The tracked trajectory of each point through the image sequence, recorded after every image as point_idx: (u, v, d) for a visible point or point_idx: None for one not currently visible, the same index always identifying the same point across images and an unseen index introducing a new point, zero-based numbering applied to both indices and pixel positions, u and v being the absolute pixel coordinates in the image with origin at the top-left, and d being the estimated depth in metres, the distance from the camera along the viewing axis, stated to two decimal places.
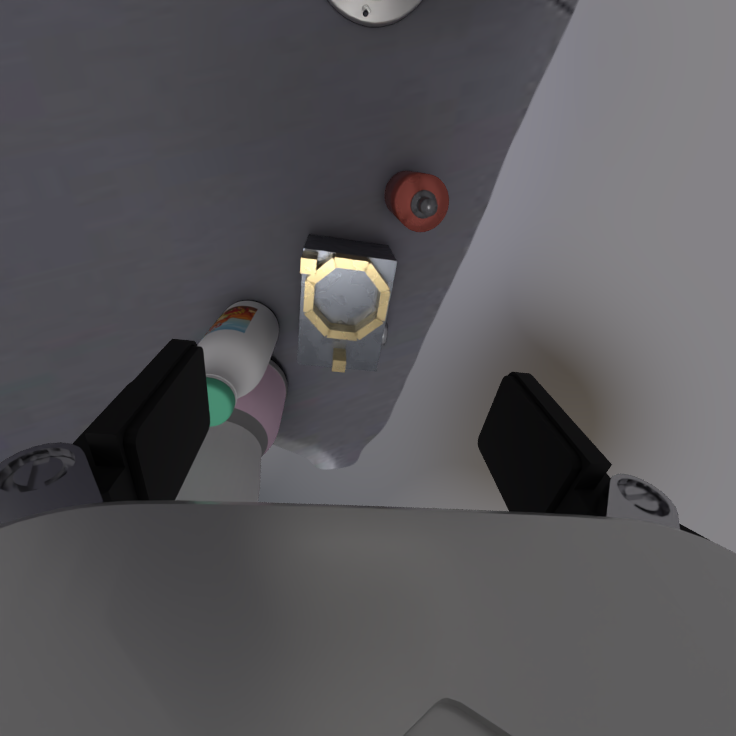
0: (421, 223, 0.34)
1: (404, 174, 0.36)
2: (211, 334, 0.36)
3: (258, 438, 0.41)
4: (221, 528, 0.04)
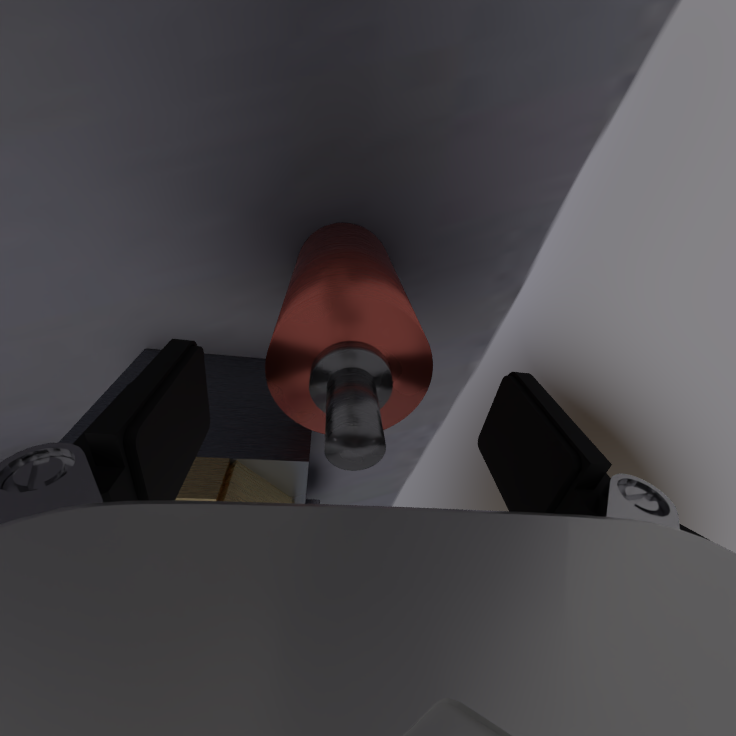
0: None
1: (317, 253, 0.13)
2: None
3: None
4: (221, 528, 0.04)
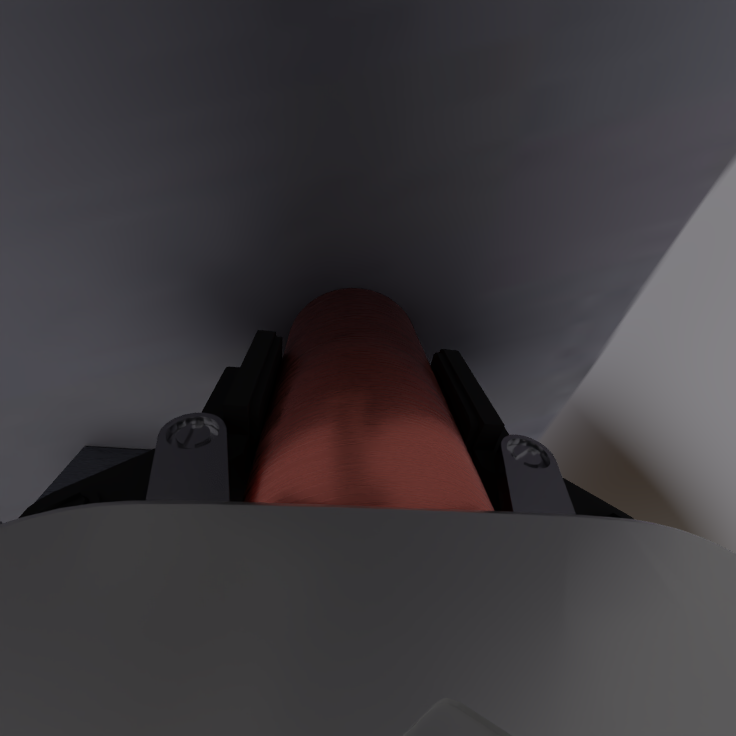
0: None
1: (314, 362, 0.08)
2: None
3: None
4: (221, 528, 0.04)
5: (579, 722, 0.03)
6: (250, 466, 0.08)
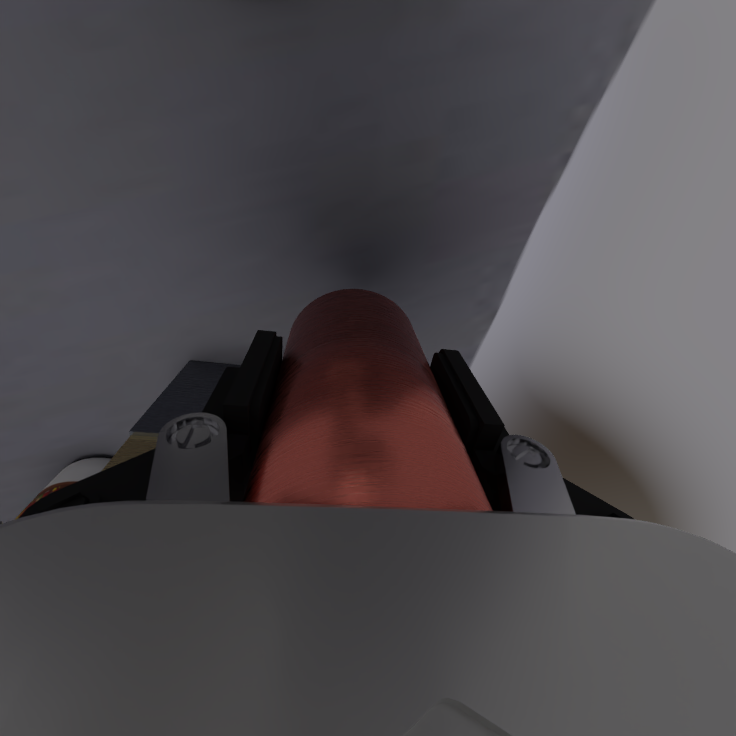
0: None
1: (314, 363, 0.08)
2: None
3: None
4: (221, 528, 0.04)
5: (579, 722, 0.03)
6: (250, 466, 0.08)
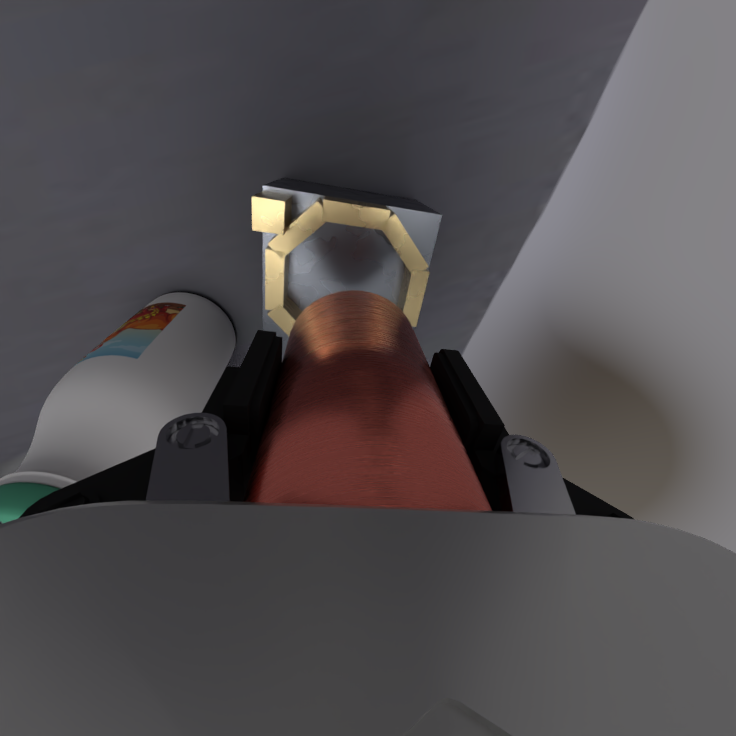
0: None
1: (314, 365, 0.08)
2: (72, 369, 0.19)
3: None
4: (221, 528, 0.04)
5: (579, 722, 0.03)
6: (250, 466, 0.08)
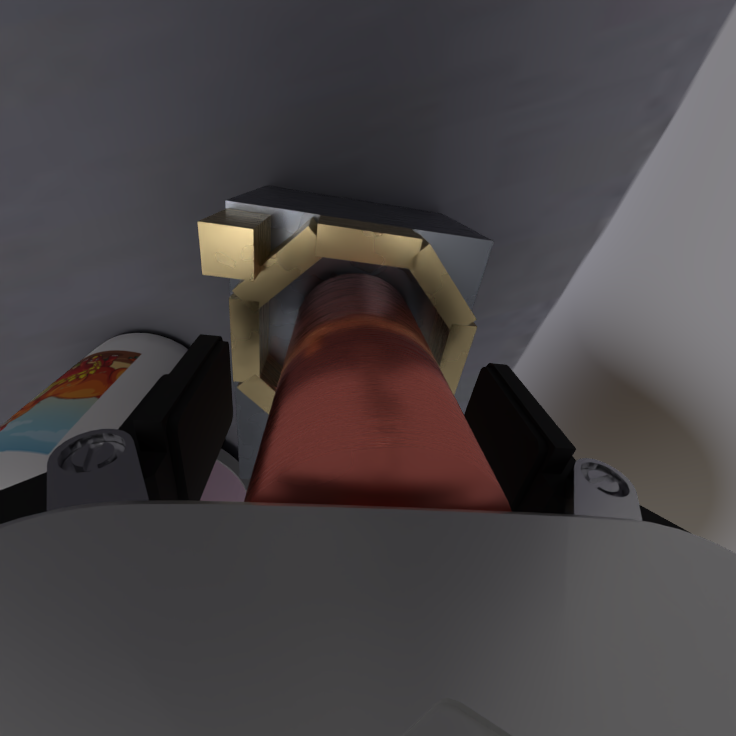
0: None
1: (324, 325, 0.10)
2: None
3: None
4: (221, 528, 0.04)
5: (579, 722, 0.03)
6: (176, 485, 0.08)
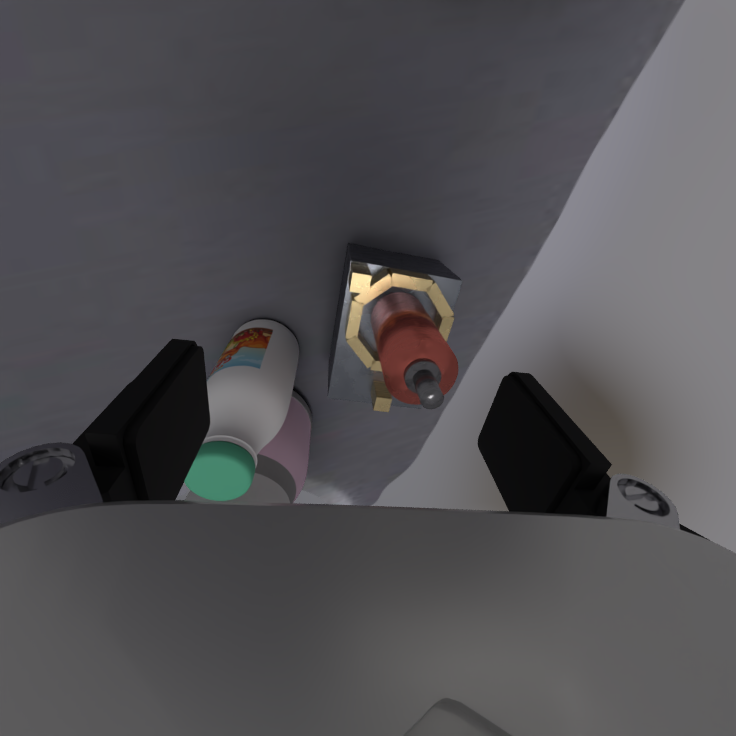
0: (418, 395, 0.24)
1: (397, 313, 0.26)
2: (219, 374, 0.29)
3: (285, 488, 0.33)
4: (221, 528, 0.04)
5: (579, 722, 0.03)
6: (137, 501, 0.07)
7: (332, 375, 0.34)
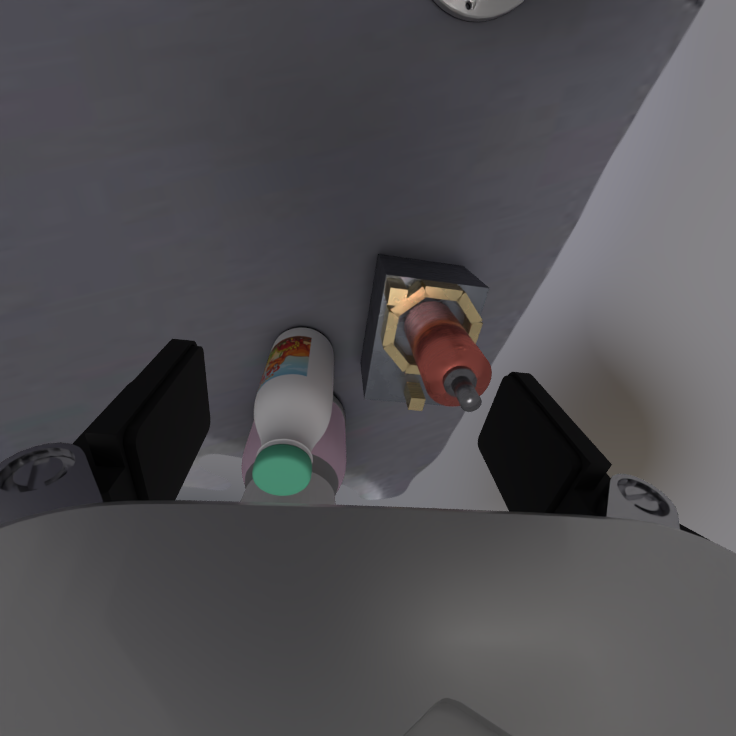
0: (455, 398, 0.27)
1: (432, 323, 0.29)
2: (271, 382, 0.32)
3: (330, 482, 0.37)
4: (221, 528, 0.04)
5: (579, 722, 0.03)
6: (137, 501, 0.07)
7: (368, 378, 0.37)
